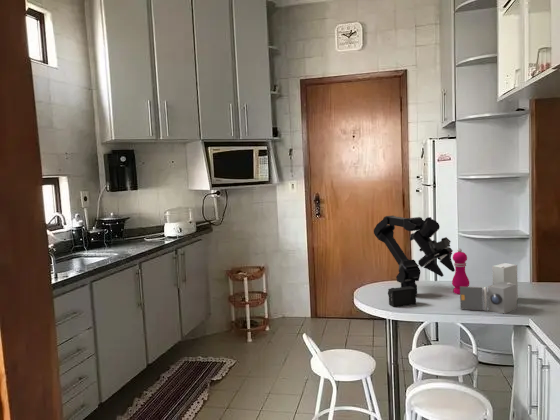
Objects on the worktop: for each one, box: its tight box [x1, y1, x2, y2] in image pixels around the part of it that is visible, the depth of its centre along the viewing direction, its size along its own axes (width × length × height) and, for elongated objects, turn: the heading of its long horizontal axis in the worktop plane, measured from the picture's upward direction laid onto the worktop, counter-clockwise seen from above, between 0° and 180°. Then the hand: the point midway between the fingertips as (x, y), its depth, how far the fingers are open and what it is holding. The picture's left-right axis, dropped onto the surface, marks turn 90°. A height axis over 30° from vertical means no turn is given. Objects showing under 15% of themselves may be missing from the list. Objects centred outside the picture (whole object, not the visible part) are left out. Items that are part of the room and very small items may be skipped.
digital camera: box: [387, 286, 417, 308], centre depth 192 cm, size 10×5×7 cm, turn 103°
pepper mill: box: [451, 248, 470, 295], centre depth 205 cm, size 7×7×20 cm
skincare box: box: [491, 262, 519, 300], centre depth 189 cm, size 8×6×15 cm
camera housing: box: [487, 282, 518, 315], centre depth 177 cm, size 6×11×10 cm, turn 126°
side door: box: [459, 286, 488, 311], centre depth 178 cm, size 10×2×9 cm, turn 66°
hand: (448, 273), depth 188 cm, fingers open, 9 cm apart
